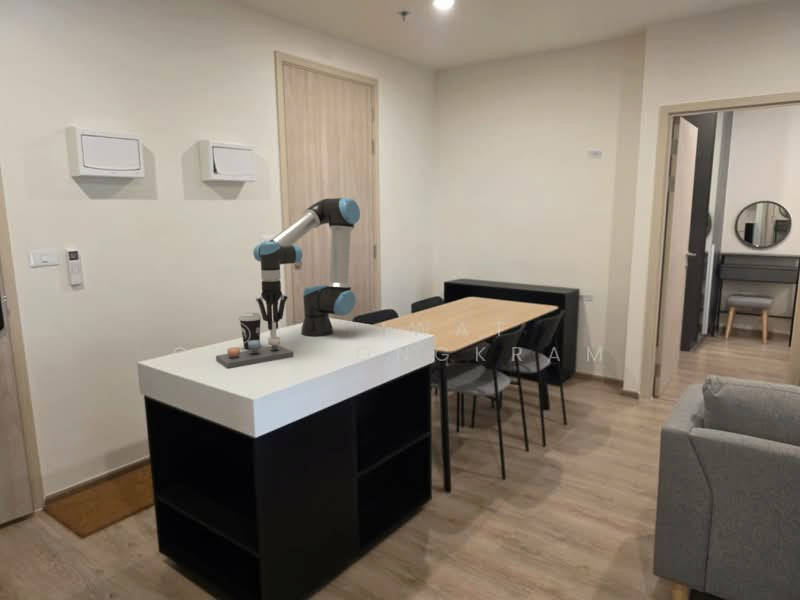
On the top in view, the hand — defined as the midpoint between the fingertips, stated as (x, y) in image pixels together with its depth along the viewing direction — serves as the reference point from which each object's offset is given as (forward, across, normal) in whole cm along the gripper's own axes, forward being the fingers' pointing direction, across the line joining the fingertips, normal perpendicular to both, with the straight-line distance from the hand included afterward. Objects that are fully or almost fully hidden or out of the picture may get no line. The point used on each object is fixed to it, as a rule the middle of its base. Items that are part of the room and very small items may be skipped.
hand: (273, 337), depth 224 cm
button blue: (+5, +8, 0) cm, 10 cm away
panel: (+8, +8, 0) cm, 11 cm away
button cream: (+5, 0, 0) cm, 5 cm away
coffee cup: (+8, +3, -18) cm, 20 cm away
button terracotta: (+7, +17, 0) cm, 18 cm away
